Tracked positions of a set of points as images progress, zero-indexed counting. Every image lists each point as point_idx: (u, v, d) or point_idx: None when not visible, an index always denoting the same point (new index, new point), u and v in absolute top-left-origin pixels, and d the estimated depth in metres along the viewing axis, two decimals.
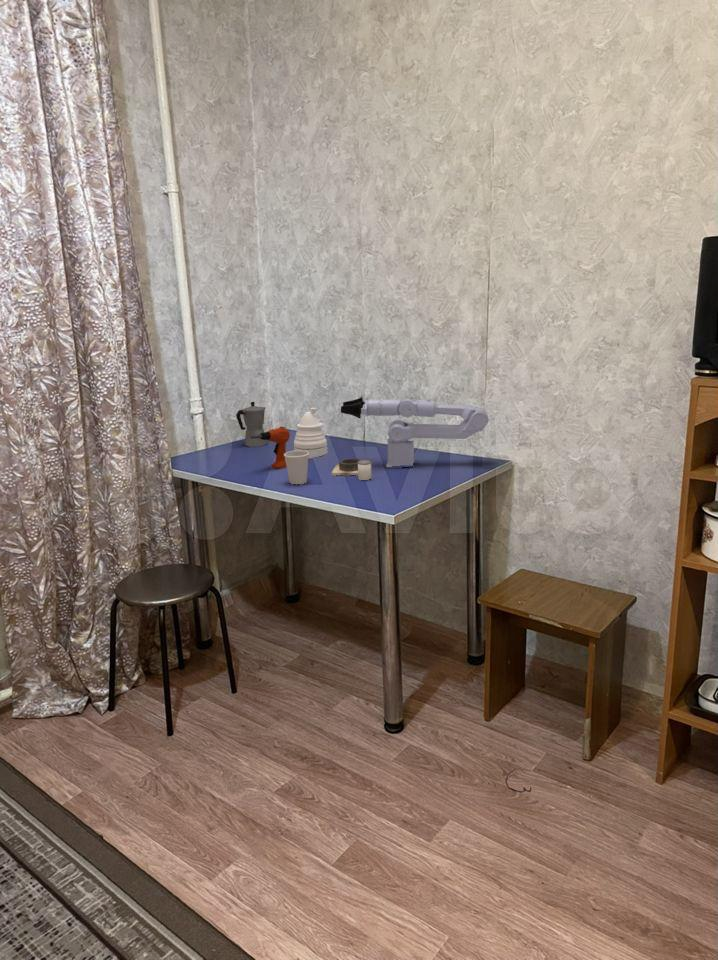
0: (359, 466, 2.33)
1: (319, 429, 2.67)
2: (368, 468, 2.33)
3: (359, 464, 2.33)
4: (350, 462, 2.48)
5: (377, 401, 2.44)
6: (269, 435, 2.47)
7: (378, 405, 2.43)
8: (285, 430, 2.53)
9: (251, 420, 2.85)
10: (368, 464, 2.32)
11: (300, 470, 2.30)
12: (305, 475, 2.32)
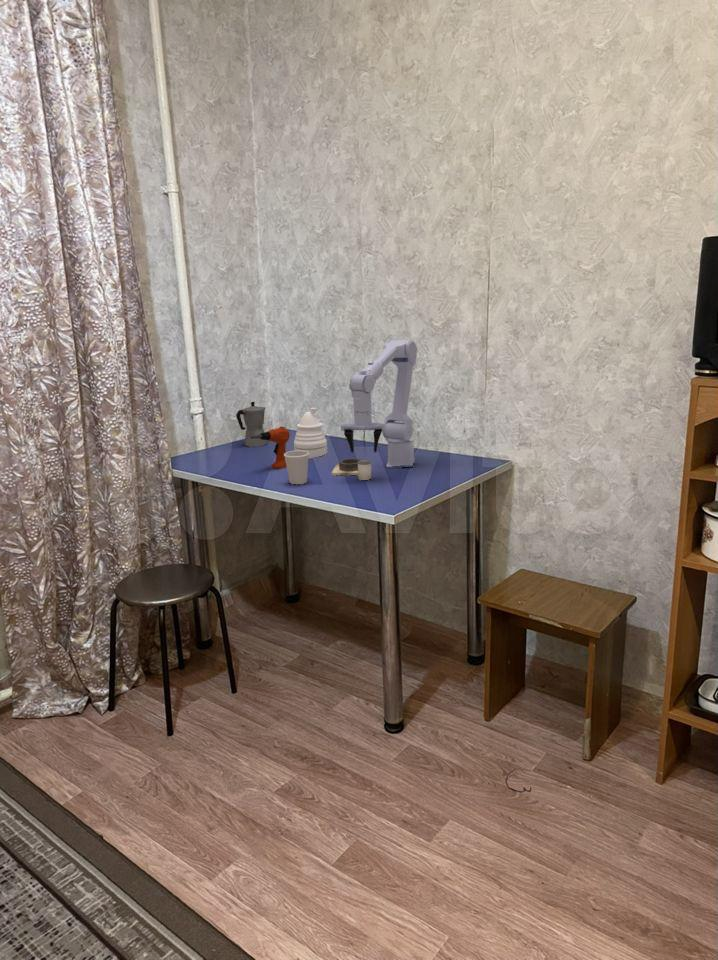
0: (359, 466, 2.33)
1: (319, 429, 2.67)
2: (368, 468, 2.33)
3: (359, 464, 2.33)
4: (350, 462, 2.48)
5: (366, 415, 2.27)
6: (269, 435, 2.47)
7: (370, 413, 2.28)
8: (285, 430, 2.53)
9: (251, 420, 2.85)
10: (368, 464, 2.32)
11: (300, 470, 2.30)
12: (305, 475, 2.32)
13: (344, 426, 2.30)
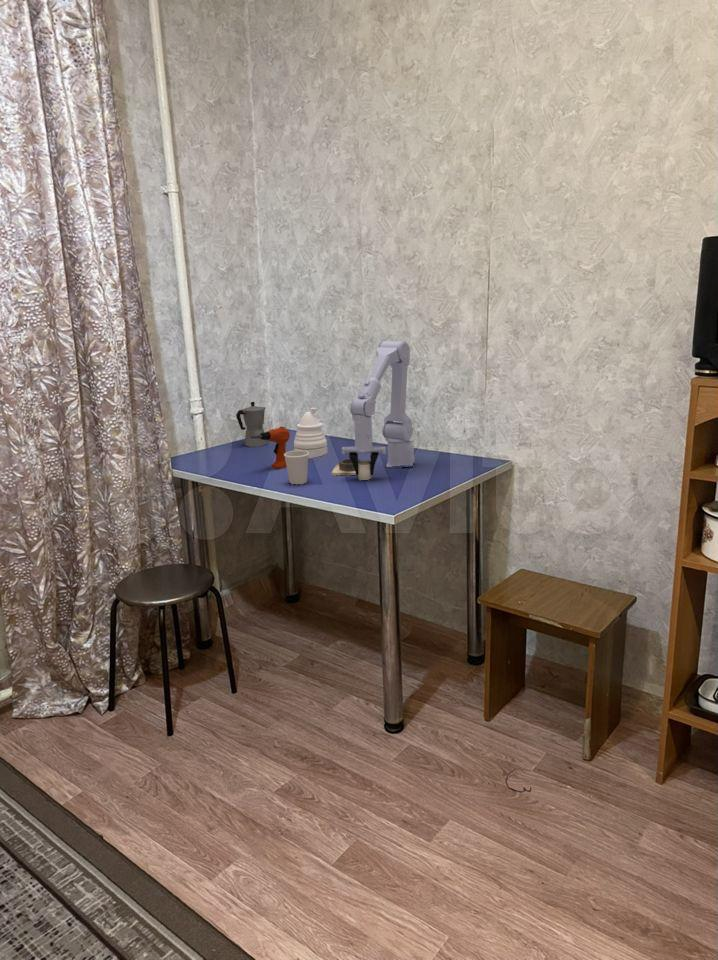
0: (359, 466, 2.33)
1: (319, 429, 2.67)
2: (368, 468, 2.33)
3: (359, 464, 2.33)
4: (350, 462, 2.48)
5: (367, 439, 2.29)
6: (269, 435, 2.47)
7: (370, 437, 2.30)
8: (285, 430, 2.53)
9: (251, 420, 2.85)
10: (368, 464, 2.32)
11: (300, 470, 2.30)
12: (305, 475, 2.32)
13: (345, 449, 2.32)
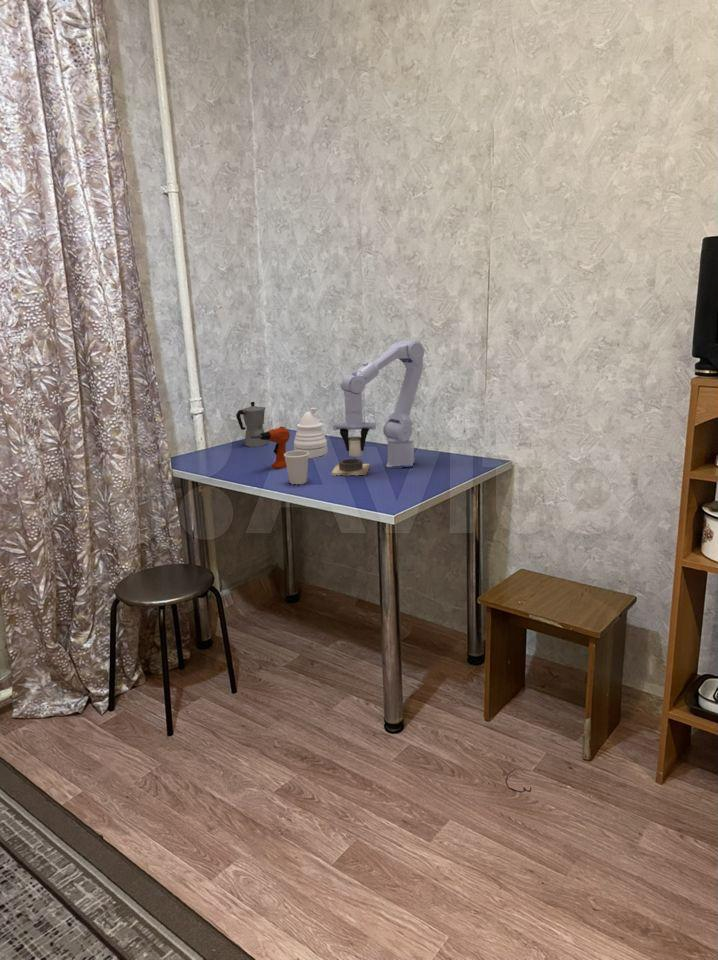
0: (350, 442, 2.37)
1: (319, 429, 2.67)
2: (359, 444, 2.37)
3: (350, 440, 2.37)
4: (350, 462, 2.48)
5: (357, 415, 2.34)
6: (269, 435, 2.47)
7: (360, 413, 2.35)
8: (285, 430, 2.53)
9: (251, 420, 2.85)
10: (359, 440, 2.37)
11: (300, 470, 2.30)
12: (305, 475, 2.32)
13: (336, 425, 2.37)
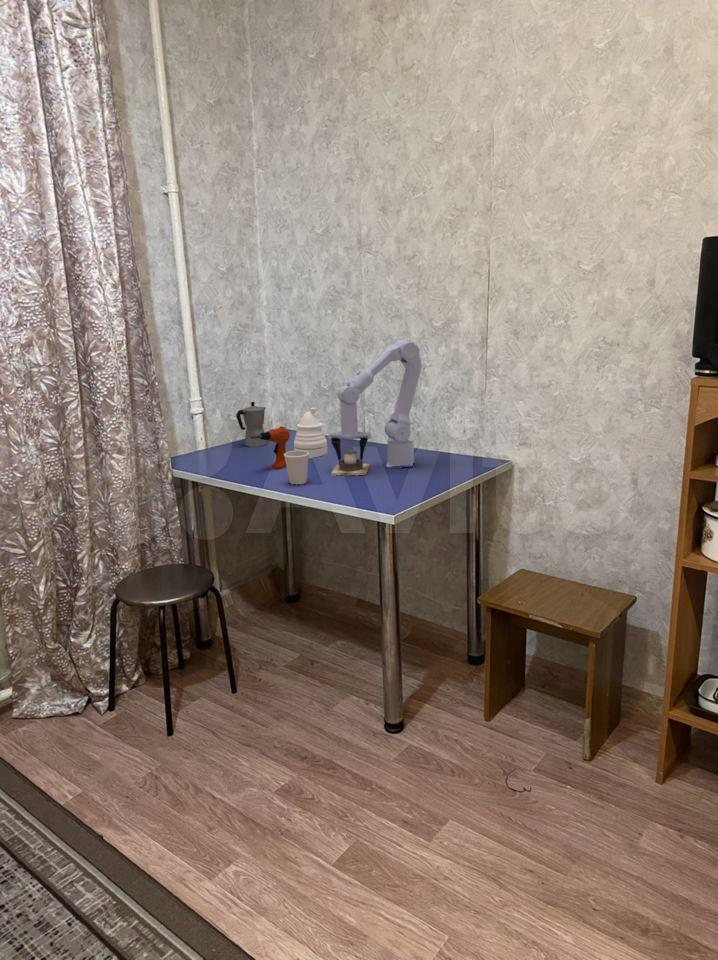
0: (345, 456, 2.43)
1: (319, 429, 2.67)
2: (354, 458, 2.42)
3: (345, 454, 2.42)
4: None
5: (352, 424, 2.39)
6: (269, 435, 2.47)
7: (356, 423, 2.39)
8: (285, 430, 2.53)
9: (251, 420, 2.85)
10: (354, 454, 2.42)
11: (300, 470, 2.30)
12: (305, 475, 2.32)
13: (331, 435, 2.42)
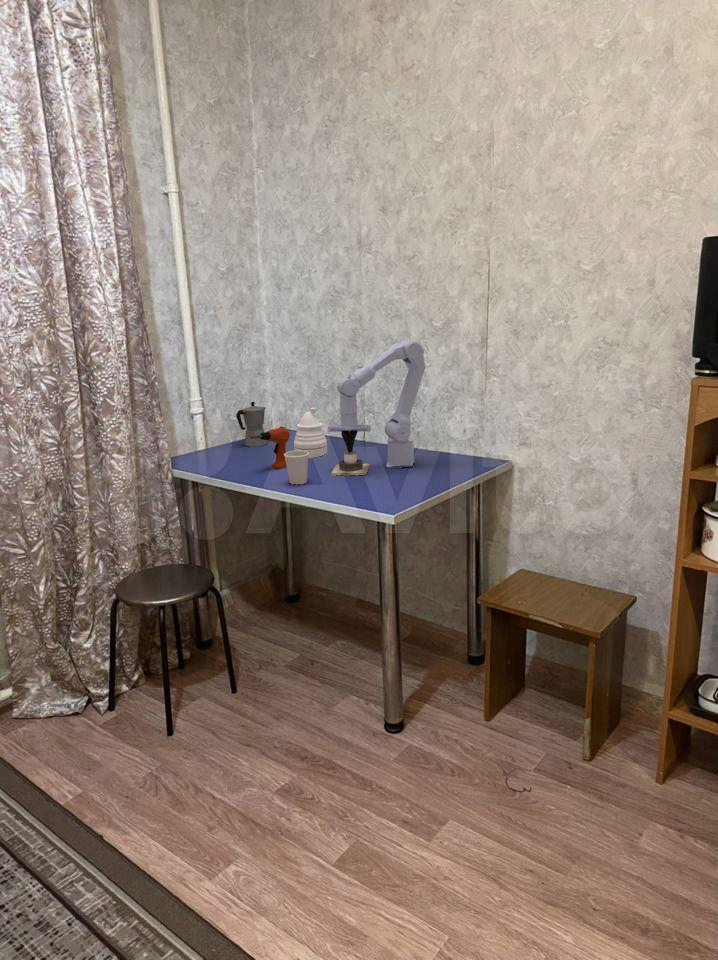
0: (345, 456, 2.43)
1: (319, 429, 2.67)
2: (354, 458, 2.42)
3: (345, 454, 2.42)
4: None
5: (352, 417, 2.38)
6: (269, 435, 2.47)
7: (355, 415, 2.39)
8: (285, 430, 2.53)
9: (251, 420, 2.85)
10: (354, 454, 2.42)
11: (300, 470, 2.30)
12: (305, 475, 2.32)
13: (331, 427, 2.41)
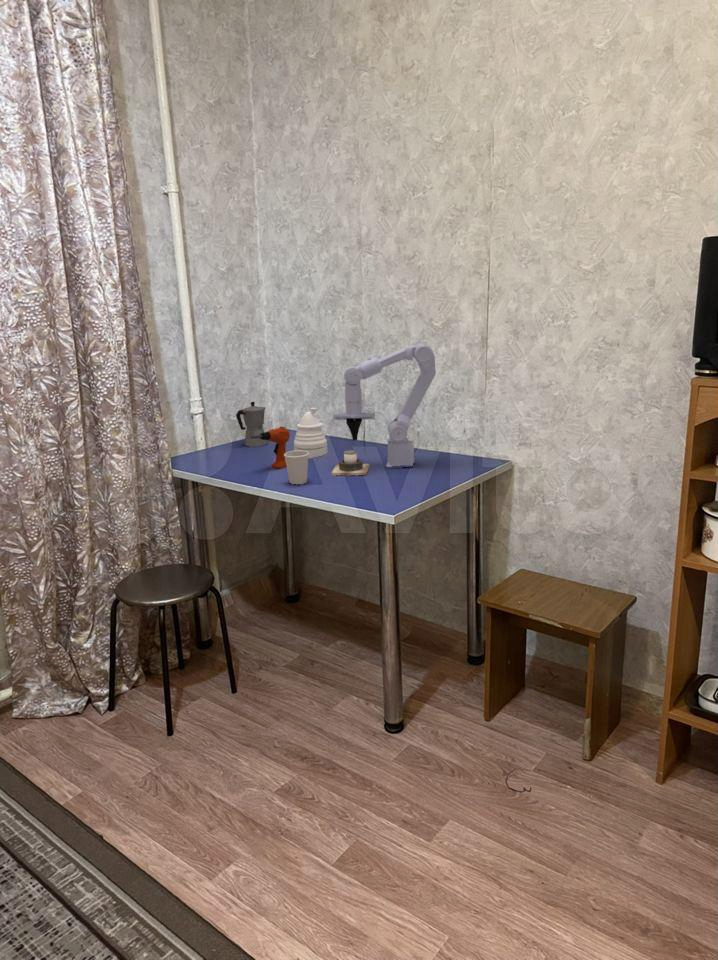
0: (345, 456, 2.43)
1: (319, 429, 2.67)
2: (354, 458, 2.42)
3: (345, 454, 2.42)
4: None
5: (356, 405, 2.43)
6: (269, 435, 2.47)
7: (360, 403, 2.43)
8: (285, 430, 2.53)
9: (251, 420, 2.85)
10: (354, 454, 2.42)
11: (300, 470, 2.30)
12: (305, 475, 2.32)
13: (336, 415, 2.46)
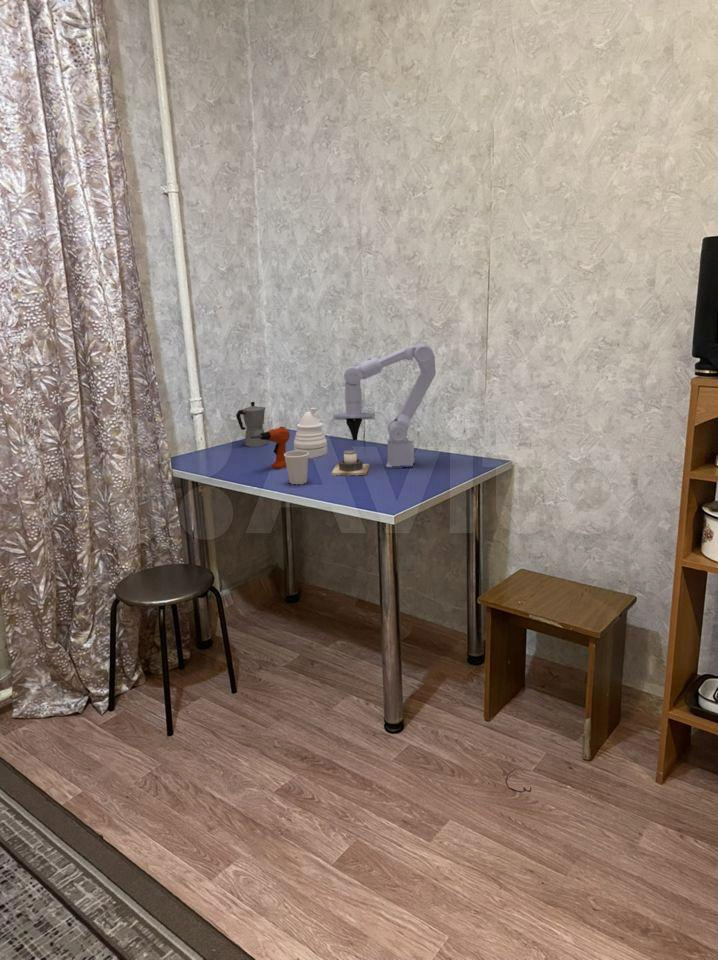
0: (345, 456, 2.43)
1: (319, 429, 2.67)
2: (354, 457, 2.43)
3: (345, 454, 2.42)
4: None
5: (356, 405, 2.43)
6: (269, 435, 2.47)
7: (360, 403, 2.43)
8: (285, 430, 2.53)
9: (251, 420, 2.85)
10: (354, 454, 2.42)
11: (300, 470, 2.30)
12: (305, 475, 2.32)
13: (336, 415, 2.46)
